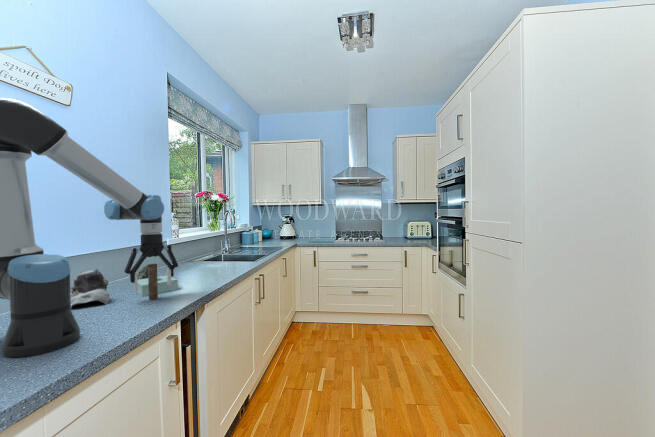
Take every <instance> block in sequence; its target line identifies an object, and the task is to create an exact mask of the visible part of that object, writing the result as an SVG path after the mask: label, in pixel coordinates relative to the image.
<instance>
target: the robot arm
mask: <svg viewBox="0 0 655 437" xmlns="http://www.w3.org/2000/svg"><path fill="white" fill-rule="evenodd" d="M32 152H33V153H34V154H35V155H37V156H44V157H45V156H46V157H47V158H49V159H50V160H52V161H53V162H55V163H56V164H58V165H59V166H61V167H62V168H64V169H65V170H66V171H68V172H70V173H71V174H72V175H75V176H76V177H78V178H79V179H80V180H82V181H83V182H85V183H86V184H88V185H89V186H91V187H92V188H94V189H96V190H97V191H99V192H100V193H102V194H103V195H104V196H106V197H108V198H109V199H108V200H106V202H105V203H104V206H103V212H104V215H105V217H106V218H107V219H109V220H110V221H113V220H114V221H121V220H122V221H123V220H130V221H131V220H139V222H140V223H139V226H140V234H141V235H140V246H139V247H131V250H130V251H131V252H130V253H131V254H130V255H129V258H128V261H127V263H126V265H125V267H124V274H128V275H130V276H129V278H130V279H129V280H130V283H134V284H133V291H134V292H136V291H138V282H137V275H138V273H136V272H137V271H138V270H139V268H140V267H141V266H142V264H143V262H144V261H145V260H146V259H147V258H152V257H155V258H156V257H159V259H161V261H162V262H163V263H164V264H165V265H166V267H168V268H166V275H167V285H169V286H170V285H171V277H172V278H174V274H175V273H174V270H175V269H176V268H179V264H178V262H177V259H176V257H175V255H174V252H173V251H172V245H171V244H166V245H164V243H163V234H162V232H163V222H162V221H163V218H162V217H163V214H164V211H165V205H164V203H163V201H162V197H161V195H159V194H145V193H144V192H142V191H141V190H140V189H138V188H137V187H136V186H134V185H133V184H132V183H131V182H129V181H128V180H127V179H125V177H122V176H121V175H120V174H119V173H118V172H116V171H115V170H113V169H112V168H110V167H109V166H108V165H107V164H106V163H104V162H103V161H102V160H100V159H98V158H97V157H96V156H95V155H93V153H91V152H90V151H88V150H86V149H85V148H84V147H83V146H81V145H80V144H79V143H77V142H76V141H75V140H73V139H72V138H71V137H70V136H69V134H68V130H67V129H65V128H64V127H62V126H61V125H60V124H59V123H58V122H56V121H55V120H53V119H52V118H51V117H49V116H48V115H46V114H45V113H44V112H42V111H41V110H39V109H38V108H36V107H33V106H32V105H30V104H29V103H26V102H23V101H21V100H17V99H13V98H10V97H9V98H7V97H1V98H0V299H2V300H8V301H9V307H10V310H9V312H10V313H9V314H10V323H9V325H8V327H7V330H6V333H5V336H4V338H3V341H2V343H1V355H2V356H3V357H6V358H24V357H30V356H36V355H41V354H45V353H49V352H52V351H55V350H59V349H61V348H63V347H66V346H69V345H70V344H74V343H75V342H76V341H77V340H79V338H80V337H81V328H80V326H79V324H78V322H77V320H76V318H75V316H74V314H73V311H72V308H71V298H72V297H71V292H70V288H71V267H70V261H69V260H68V258H67V257H66V256H64V255H61V254H47V253H44V252H45V251H44V248H42V247H41V246H39V245H37V243H36V239H35V231H34V222H33V214H32V206H31V199H30V191H29V182H28V174H27V166H26V162H27V161H28V160H29V159H30V158H31V157H32ZM163 250H165V251H166V253H167V255H168V257H169V259H170V261H171V262H170V261H169V260H168V259H167V257H166V256H165V255H164V254H163V253H162V252H163ZM139 251H140V252H141V253H142V254H141V255H140V256H139V258H138V260H137V261H136V263H135V264H134V262H135V259H136V256H137V254H138V253H139ZM133 264H134V266H133Z"/></svg>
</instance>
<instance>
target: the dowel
mask: <svg viewBox="0 0 655 437" xmlns="http://www.w3.org/2000/svg"><path fill="white" fill-rule="evenodd" d="M147 265H148V288H149V295H148V301H155V300H158V299H159V293H158V280H157V277H158V263H149V264H148V263H147Z"/></svg>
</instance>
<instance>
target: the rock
mask: <svg viewBox="0 0 655 437" xmlns="http://www.w3.org/2000/svg"><path fill="white" fill-rule="evenodd" d="M146 278H148V264H146V265H145V266H144V267H142V269H140V270H139V271H138V273H137V280H139V279H146ZM132 285H134V283H133V284H132Z"/></svg>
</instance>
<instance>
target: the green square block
mask: <svg viewBox="0 0 655 437" xmlns="http://www.w3.org/2000/svg"><path fill="white" fill-rule="evenodd" d="M157 280H158V294H162V293H168V292H173V291H177V290H179V283H178V282H179V281H178V280H179V279H177V278H174V277H171V285H170V286H169V285H167V274H166V275H160V276H157ZM137 282H138V291H135V293H137V294H138V293H139V294H138V295H140V296H141V297H145V296H149V288H148V278H146V279H139V280H137Z"/></svg>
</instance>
